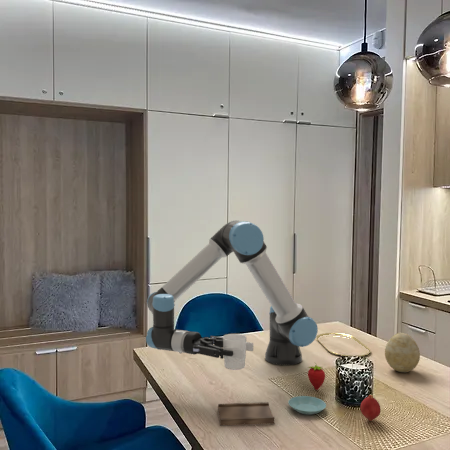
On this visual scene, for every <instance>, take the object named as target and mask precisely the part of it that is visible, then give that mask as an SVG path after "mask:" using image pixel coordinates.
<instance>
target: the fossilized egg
mask: <svg viewBox="0 0 450 450" xmlns="http://www.w3.org/2000/svg"><path fill="white" fill-rule="evenodd" d="M384 356H385V360H386V363H388V365H389V367H391V369H392V370H394V371H397V372H399V373H408V372H411V371H413V370H414V369H416V367H417V366H418V364H419V363H420V361H421V360H420V359H421V353H420V349H419V345H418V344H417V342H416V341H415V339H414V338H413V337H412V336H410V335H409V334H408V333H406V332H398V333H395V334H394V335H392V336H391V337H390V339H389V340H388V341H387V343H386V345H385V348H384Z"/></svg>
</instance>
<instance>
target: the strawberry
mask: <svg viewBox="0 0 450 450" xmlns="http://www.w3.org/2000/svg"><path fill="white" fill-rule="evenodd" d="M307 368H309V369H308V371H307V378H308V381H309V382H310V383H311V384H310V385H312V387H313V388H314V390H316V391H318V390H320V388H321V387H322V386H323V384H324V382H325V380H326V373H325V371H324V369H323V366H318V365H317V363H315V365H314V366H308V367H307Z"/></svg>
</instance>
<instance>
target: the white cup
mask: <svg viewBox="0 0 450 450" xmlns="http://www.w3.org/2000/svg"><path fill="white" fill-rule="evenodd" d="M222 337H223V350H224V348H225V347H227V348H234V349H241V350H244V358H243V359H241V358H234V357H227V356H224V358H223V362H224V368H225V369H227V370H232V371H238V370H242V369H244V368H245V367H246V354H247V353H246V352H247V351H246V342H247V336H246V335H245V334H242V333H228V334H227V333H226V334H224V335H223V336H222Z"/></svg>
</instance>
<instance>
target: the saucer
mask: <svg viewBox="0 0 450 450" xmlns="http://www.w3.org/2000/svg"><path fill="white" fill-rule="evenodd" d="M287 403H288V405H289V407H291V409H292V410H294V411H296V412H297V413H299V414H302V415H316V414H318V413H320V412H322V411H323V410H325V409H326V408H327V403H326V402H325V401H324V400H322V399H320V398H318V397H316V396H308V395H298V396H294V397H291V398H290V399H289V400H288V401H287Z"/></svg>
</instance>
